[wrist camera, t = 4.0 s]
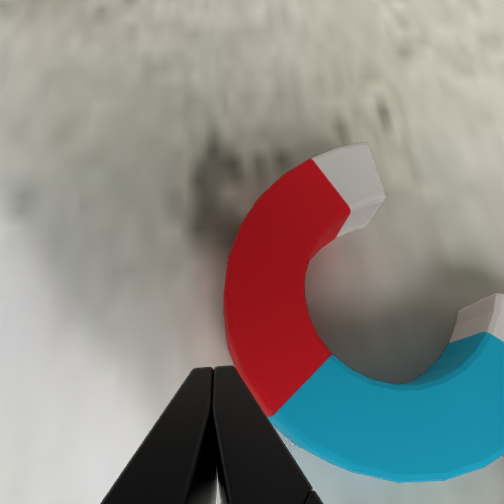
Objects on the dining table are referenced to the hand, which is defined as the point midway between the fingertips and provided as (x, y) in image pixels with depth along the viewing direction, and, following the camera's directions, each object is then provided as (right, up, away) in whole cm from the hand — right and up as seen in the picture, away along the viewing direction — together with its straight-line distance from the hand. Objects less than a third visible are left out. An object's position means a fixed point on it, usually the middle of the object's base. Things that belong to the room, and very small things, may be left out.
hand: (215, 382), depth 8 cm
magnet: (+1, -3, +5) cm, 6 cm away
